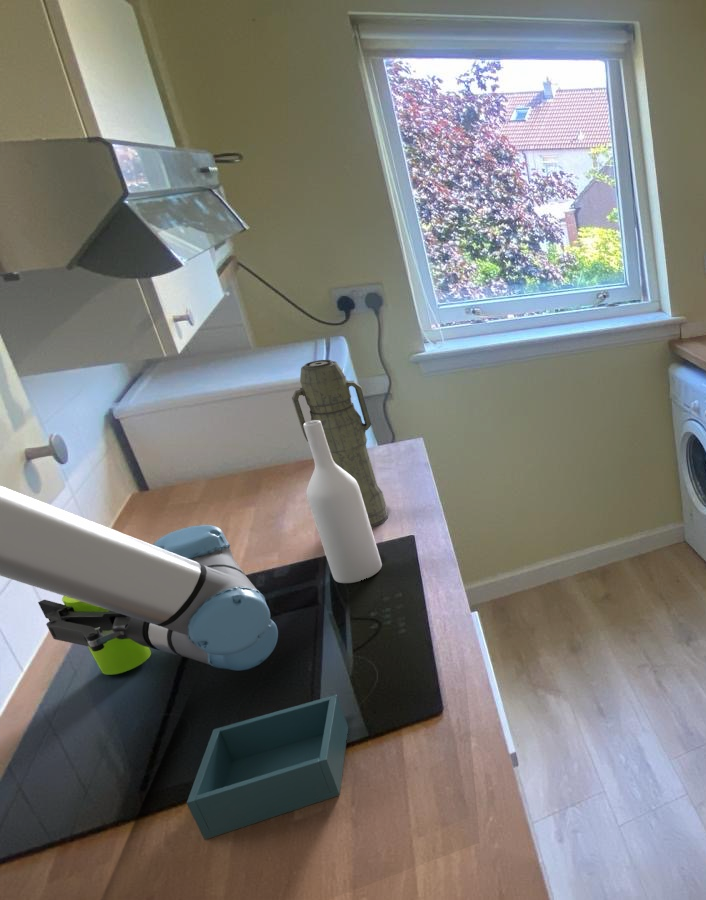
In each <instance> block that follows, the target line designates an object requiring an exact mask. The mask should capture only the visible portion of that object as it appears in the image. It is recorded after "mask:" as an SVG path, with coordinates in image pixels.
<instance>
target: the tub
mask: <svg viewBox="0 0 706 900" xmlns="http://www.w3.org/2000/svg"><path fill="white" fill-rule="evenodd" d="M347 734H349V725H348V723H347V720H346V716H345V713H344V711H343V709H342V706H341V702H340V700H339V697H338V695H337V694H333V695H330V696H326V697H323V698H320V699H316V700H313V701H309V702H305V703H302V704H298V705H295V706H291V707H288V708H284V709H280V710H278V711H274V712H270V713H266V714H263V715H260V716H256V717H253V718H249V719H246V720H242V721H238V722H235V723H230V724H228V725H224V726H221V727H220V726H219V727H217V728H214V729H213V730H212V732H211V735H210V738H209V740H208V743H207V745H206V749H205V751H204V754H203V757H202V759H201V762H200V765H199V768H198V770H197V773H196V776H195V779H194V781H193V784H192V787H191V790H190V793H189V795H188V798H187V800H186V805H187V807H188V809H189V811H190V813H191V815H192V818H193V820H194V822H195V824H196V825H197V828H198V830H199V832H200V834H201V836H202V838H203V840H204V841H205V840H208V839H209V840H210V839H211V838H214V837H217V836H220V835H223V834H227V833H229V832H233V831H235V830H239V829H242V828H244V827H248V826H250V825H255V824H256V823H260V822H262V821H266V820H269V819H272V818H275V817H278V816H281V815H284V814H287V813H290V812H293V811H296V810H299V809H302V808H305V807H308V806H311V805H315V804H317V803H320V802H323V801H327V800H330V799H332V798H336V797H338V796H340V795H341V788H342V782H343V781H342V780H343V772H344V764H345V757H346V750H347V743H346V740H347V741H348V735H347Z"/></svg>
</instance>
